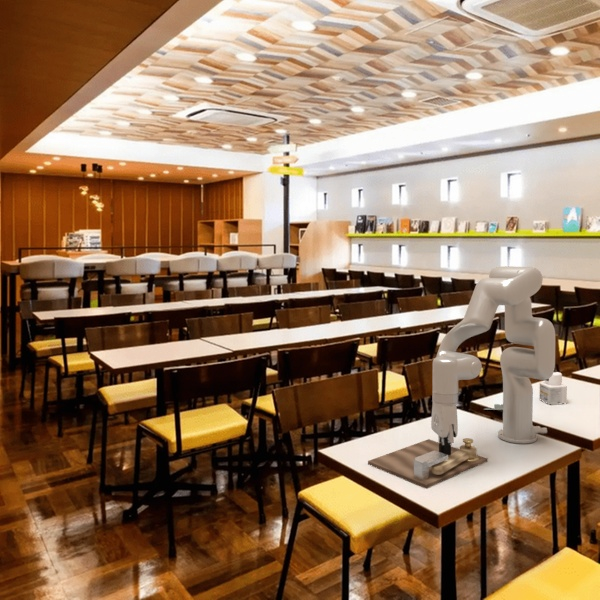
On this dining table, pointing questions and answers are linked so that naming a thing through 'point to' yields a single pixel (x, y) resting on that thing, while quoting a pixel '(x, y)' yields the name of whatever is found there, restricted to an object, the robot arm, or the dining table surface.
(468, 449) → the arm link
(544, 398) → the container
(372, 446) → the dining table surface
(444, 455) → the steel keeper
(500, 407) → the metal bracket
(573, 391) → the dining table surface
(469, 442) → the brass pin
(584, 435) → the dining table surface
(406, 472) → the walnut board
